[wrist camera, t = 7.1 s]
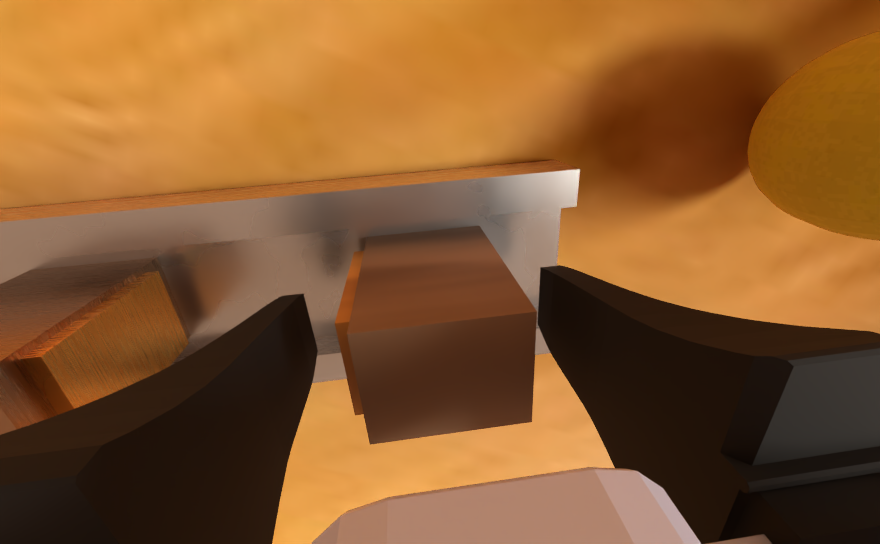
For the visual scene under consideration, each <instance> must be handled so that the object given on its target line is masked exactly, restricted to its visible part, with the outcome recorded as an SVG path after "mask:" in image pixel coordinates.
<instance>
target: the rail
mask: <svg viewBox="0 0 880 544" xmlns="http://www.w3.org/2000/svg"><path fill="white" fill-rule="evenodd" d="M579 174H580V169H578V168H576V167H573V166H570V165H568V164H565V163H562V162H560V161H557V160H548V161H537V162H525V163H514V164H503V165H492V166H480V167H469V168H458V169H447V170H435V171H424V172H413V173H402V174H390V175H379V176H368V177H357V178H345V179H334V180H323V181H312V182H300V183H289V184H278V185H267V186H255V187H244V188H233V189H222V190H210V191H199V192H188V193H177V194H165V195H154V196H143V197H132V198H120V199H109V200H98V201H87V202H75V203H64V204H53V205H42V206H30V207H19V208H8V209H0V435H1V434H4V433H7V432H10V431H13V430H16V429H19V428H22V427H26V426H29V425H31V424H34V423H37V422H40V421H43V420H45V419H48V418H51V417H54V416H56V415H59V414H62V413H64V412H67V411H70V410H72V409H75V408H78V407H80V406H83V405H85V404H88V403H90V402H92V401H95V400H97V399H100V398H102V397H105V396H107V395H110V394H112V393H114V392H116V391H118V390H121V389H123V388H125V387H127V386H129V385H131V384H134V383H136V382H138V381H140V380H142V379H145V378H147V377H149V376H151V375H153V374H155V373H157V372H159V371H161V370H163V369H165V368H167V367H169V366H171V365H173V364H175V363H176V362H178V361H180V360H182V359H184V358H186V357H187V356H189V355H191V354H193V353H194V352H196V351H198V350H200V349H201V348H203V347H204V346H206V345H208V344H209V343H211V342H212V341H214V340H215V339H217V338H219V337H220V336H222V335H223V334H225V333H226V332H228V331H229V330H231V329H233V328H234V327H236V326H237V325H238V324H240V323H241V322H243V321H244V320H246V319H247V318H249V317H250V316H251V315H253V314H254V313H256V312H257V311H259V310H260V309H262V308H263V307H264V306H266V305H267V304H269V303H270V302H272V301H274V300H275V299H277V298H279V297H281V296H284V295H293V294H304V297H305V301H306V305H307V309H308V313H309V317H310V321H311V325H312V329H313V333H314V337H315V341H316V345H317V349H318V352H317V359H316V366H315V372H314V378H313V381H312V383H316V382H324V381H332V380H340V379H347V376H346V372H345V367H344V363H343V358H342V354H341V350H340V345H339V341H338V336H337V332H336V327H335V320H336V317H337V313H338V309H339V306H340V302H341V298H342V295H343V291H344V287H345V283H346V280H347V276H348V272H349V269H350V265H351V261H352V258H353V254H354V252H357V251H364V249H365V244H366V239H367V237H371V236H381V235H391V234H401V233H411V232H421V231H430V230H440V229H450V228H460V227H470V226H480V227H481V229H482V230H483V232H484V233H485V235H486V236H487V238H488V239H489V241H490V242H491V244H492V245H493V247H494V248H495V250H496V251H497V253H498V254H499V256H500V257H501V259H502V260H503V262H504V263H505V264H506V266H507V267H508V269H509V270H510V272H511V273H512V275H513V276H514V278H515V279H516V281H517V282H518V284H519V285H520V287H521V288H522V290H523V291H524V293H525V294H526V296H527V297H528V299H529V300H530V302H531V303H532V305H533V306H534V308H535V309H536V311H537V323H536V343H535V355H538V354H546V353H551V352H550V351H549V349H548V347H547V345H546V342H545V340H544V338H543V336H542V333H541V331H540V328H539V326H538V305H539V285H540V267H549V266H557V257H558V243H559V229H560V215H561V208H568V207H577V196H578V185H579Z"/></svg>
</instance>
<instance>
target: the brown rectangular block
mask: <svg viewBox="0 0 880 544" xmlns="http://www.w3.org/2000/svg"><path fill="white" fill-rule="evenodd" d="M536 323H537V311H536V309H535V308H534V306H533V305H532V303H531V302H530V300H529V299H528V297H527V296H526V294H525V293H524V291H523V290H522V288H521V287H520V285H519V284H518V282H517V281H516V279H515V278H514V276H513V275H512V273H511V272H510V270H509V269H508V267H507V266H506V264H505V263H504V262H503V260H502V259H501V257H500V256H499V254H498V253H497V251H496V250H495V248H494V247H493V245H492V244H491V242H490V241H489V239H488V238H487V236H486V235H485V233H484V232H483V230H482V229H481V227H480V226H470V227H460V228H450V229H440V230H430V231H421V232H411V233H401V234H391V235H381V236H371V237H367V239H366V244H365V249H364V251H357V252H354V254H353V258H352V261H351V265H350V269H349V272H348V276H347V280H346V283H345V287H344V291H343V295H342V298H341V302H340V306H339V309H338V313H337V317H336V320H335V327H336V332H337V336H338V341H339V345H340V350H341V354H342V358H343V363H344V367H345V372H346V376H347V381H348V385H349V390H350V394H351V399H352V403H353V408H354V412H355V415H361V414H364V418H365V423H366V428H367V432H368V437H369V442H370V444H377V443H384V442H391V441H398V440H405V439H412V438H420V437H427V436H434V435H441V434H448V433H455V432H463V431H470V430H477V429H484V428H491V427H498V426H506V425H513V424H520V423H527V422H532V405H533V384H534V364H535V343H536Z"/></svg>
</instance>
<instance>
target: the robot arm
mask: <svg viewBox="0 0 880 544" xmlns="http://www.w3.org/2000/svg"><path fill="white" fill-rule="evenodd" d="M538 326H539V328H540V331H541V333H542V336H543V338H544V340H545V342H546V345H547V347H548V349H549V351H550V352H551V354H552V356H553V357H554V359H555V361H556V362H557V364H558V365H559V367H560V369H561V370H562V372H563V373H564V375H565V377H566V378H567V380H568V381H569V383H570V384H571V386H572V388H573V389H574V391H575V392H576V394H577V395H578V397H579V399H580V400H581V402H582V403H583V405H584V407H585V408H586V410H587V412H588V414H589V415H590V417H591V419H592V421H593V423H594V425H595V427H596V429H597V431H598V433H599V435H600V437H601V439H602V441H603V443H604V445H605V447H606V449H607V452H608V454H609V456H610V458H611V460H612V462H613V465H614V467H615V468H593V467H588V468H581V469H574V470H567V471H561V472H554V473H547V474H541V475H534V476H527V477H521V478H514V479H507V480H500V481H494V482H487V483H480V484H474V485H467V486H460V487H454V488H447V489H440V490H433V491H427V492H420V493H413V494H407V495H400V496H393V497H388V498H385V499H382V500H379V501H376V502H373V503H370V504H367V505H364V506H361V507H358V508H355V509H352V510H349V511H347V512H346V513H344V514H343V515H341V516H340V517H339V518H338V519H337V520H336V521H335V522H333V523H332V524H331V525H330V526H329V527H328V528H327V529H326V530H325V531H324V532H323V533H322V534H321V535H320V536H319V537H317V538H316V539H315V540H314V541H313V542H312V544H880V334H878V333H875V332H870V331H858V330H844V329H831V328H817V327H804V326H794V325H786V324H778V323H770V322H762V321H755V320H748V319H742V318H736V317H730V316H725V315H720V314H715V313H709V312H704V311H700V310H695V309H691V308H687V307H683V306H679V305H675V304H671V303H668V302H664V301H660V300H657V299H654V298H650V297H647V296H644V295H641V294H638V293H635V292H632V291H629V290H627V289H624V288H621V287H618V286H616V285H613V284H611V283H608V282H605V281H603V280H600V279H598V278H595V277H593V276H590V275H587V274H585V273H582V272H580V271H577V270H574V269H571V268H568V267H565V266H560V265H559V266H549V267H540V285H539V305H538ZM317 352H318V349H317V345H316V341H315V337H314V333H313V329H312V325H311V321H310V317H309V313H308V309H307V305H306V301H305V297H304V294H293V295H284V296H281V297H279V298H277V299H275V300H274V301H272V302H270V303H269V304H267V305H266V306H264V307H263V308H262V309H260V310H259V311H257V312H256V313H254V314H253V315H251V316H250V317H249V318H247V319H246V320H244V321H243V322H241V323H240V324H238V325H237V326H236V327H234V328H233V329H231V330H229V331H228V332H226V333H225V334H223V335H222V336H220V337H219V338H217V339H215V340H214V341H212V342H211V343H209V344H208V345H206V346H204V347H203V348H201V349H200V350H198V351H196V352H194V353H193V354H191V355H189V356H187V357H186V358H184V359H182V360H180V361H178V362H176V363H175V364H173V365H171V366H169V367H167V368H165V369H163V370H161V371H159V372H157V373H155V374H153V375H151V376H149V377H147V378H145V379H142V380H140V381H138V382H136V383H134V384H131V385H129V386H127V387H125V388H123V389H121V390H118V391H116V392H114V393H112V394H110V395H107V396H105V397H102V398H100V399H97V400H95V401H92V402H90V403H88V404H85V405H83V406H80V407H78V408H75V409H72V410H70V411H67V412H64V413H62V414H59V415H56V416H54V417H51V418H48V419H45V420H43V421H40V422H37V423H34V424H31V425H29V426H26V427H22V428H19V429H16V430H13V431H10V432H7V433H4V434H1V435H0V544H272V540H273V535H274V529H275V524H276V518H277V513H278V507H279V502H280V496H281V491H282V487H283V482H284V477H285V472H286V467H287V462H288V459H289V455H290V451H291V448H292V444H293V441H294V438H295V435H296V432H297V429H298V426H299V423H300V419H301V416H302V413H303V410H304V407H305V404H306V401H307V398H308V394H309V391H310V388H311V385H312V381H313V378H314V372H315V366H316V359H317Z"/></svg>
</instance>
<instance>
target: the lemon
mask: <svg viewBox="0 0 880 544" xmlns="http://www.w3.org/2000/svg"><path fill="white" fill-rule="evenodd" d="M747 155H748V163H749V168H750V172H751V174H752V176H753V178H754V181H755V183H756V185H757V186H758V188H759V189H760V191H761V192H762V193H763V194H764V195H765V196H766V197H767V198H768V199H769V200H770V201H771V202H772V203H773V204H775V205H776V206H777V207H778V208H780V209H781V210H783V211H784V212H786V213H788V214H790V215H791V216H793V217H796V218H798V219H800V220H803V221H805V222H808V223H810V224H812V225H815V226H817V227H819V228H822V229H825V230H828V231H831V232H835V233H839V234H843V235H847V236H853V237H858V238H864V239H872V240H879V241H880V31H878V32H875V33H872V34H869V35H865V36H862V37H859V38H856V39H854V40H851V41H849V42H846V43H844V44H842V45H840V46H838V47H836V48H834V49H832V50H830V51H828V52H826V53H825V54H823V55H821V56H820V57H818V58H816V59H814V60H813V61H811V62H809V63H808V64H806V65H805V66H803V67H802V68H800V69H799V70H798V71H797V72H796V73H794V74H793V75H792V76H791V77H790V78H789V79H787V80H786V81H785V82H784V83H783V84H782V85H781V86H779V87H778V88H777V89H776V91H775V92H774V93H773V94H772V96H771V97H770V98H769V99H768V100H767V102H766V103H765V104H764V106H763V108H762V109H761V111H760V113H759V115H758V116H757V118H756V120H755V122H754V125H753V127H752V130H751V133H750V136H749V143H748V150H747Z"/></svg>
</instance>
